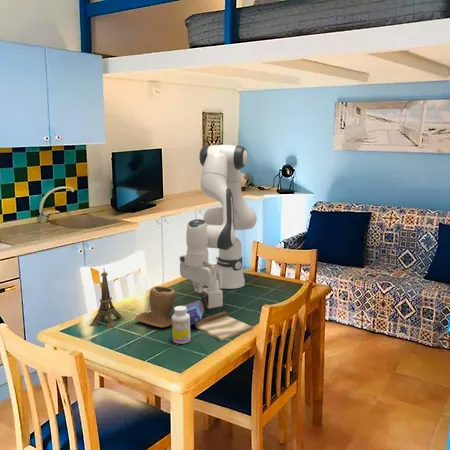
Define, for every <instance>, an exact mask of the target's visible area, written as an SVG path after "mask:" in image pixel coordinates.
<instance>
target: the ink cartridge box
mask: <svg viewBox="0 0 450 450" xmlns="http://www.w3.org/2000/svg"><path fill="white" fill-rule="evenodd" d="M183 306H185V307H187V312H186V313H188V314H189V316H190V326H192V325H194V324H195V323H198V322H200V320H201V319H203V318H202V317H203V315H204V313H205V308H204V305H203V304H202V300H201V299H197V300H195V301H192V302H189V303H187V304H184V305H183Z"/></svg>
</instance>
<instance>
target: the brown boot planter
mask: <svg viewBox="0 0 450 450" xmlns="http://www.w3.org/2000/svg"><path fill="white" fill-rule="evenodd" d="M148 296H149V299H148V300H149V307H150V311H146V312H141V313H139V314H137V315H136V316H135V318H134V319H135V321H138V322H141V323H144V324H146V325H149V326H152V327H158V328H161V329H163V328H167V327H170V326H171V327H172V316H171V312H172V309H173V306H174V304H175V299H176V292H175V290H174V289H173V288H171V287H169V286H159V285H158V286H157V285H156V286H153V287H151V288H150V290H149V295H148Z"/></svg>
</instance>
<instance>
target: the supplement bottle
mask: <svg viewBox="0 0 450 450" xmlns="http://www.w3.org/2000/svg"><path fill="white" fill-rule="evenodd" d="M186 312H187V307H185V306H184V305H177V306H175V307H174V308H173V314H172V316H171V317H172V325H171V332H172V334H171V335H172V341H173V343H176V344H180V345H181V344H186V343H187V344H188V343H189V342H190V341H191V325H190V316H189V314H188V313H186Z"/></svg>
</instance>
